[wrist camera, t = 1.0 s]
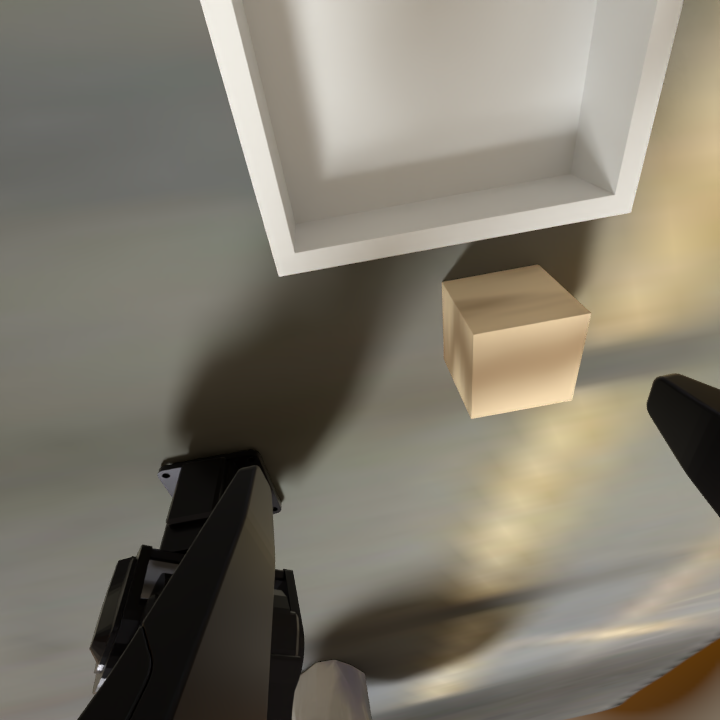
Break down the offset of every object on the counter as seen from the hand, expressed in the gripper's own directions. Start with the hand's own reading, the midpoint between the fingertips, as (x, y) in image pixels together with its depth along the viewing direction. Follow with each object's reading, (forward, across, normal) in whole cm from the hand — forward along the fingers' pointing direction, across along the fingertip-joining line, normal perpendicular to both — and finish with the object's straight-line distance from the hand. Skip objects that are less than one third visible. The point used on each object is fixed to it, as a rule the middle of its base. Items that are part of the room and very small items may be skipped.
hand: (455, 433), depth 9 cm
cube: (+13, -5, +6) cm, 15 cm away
